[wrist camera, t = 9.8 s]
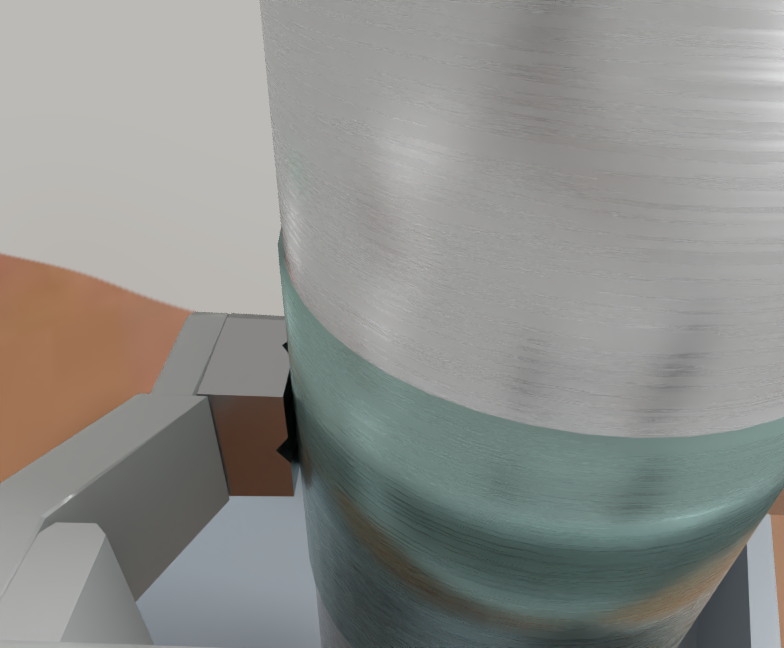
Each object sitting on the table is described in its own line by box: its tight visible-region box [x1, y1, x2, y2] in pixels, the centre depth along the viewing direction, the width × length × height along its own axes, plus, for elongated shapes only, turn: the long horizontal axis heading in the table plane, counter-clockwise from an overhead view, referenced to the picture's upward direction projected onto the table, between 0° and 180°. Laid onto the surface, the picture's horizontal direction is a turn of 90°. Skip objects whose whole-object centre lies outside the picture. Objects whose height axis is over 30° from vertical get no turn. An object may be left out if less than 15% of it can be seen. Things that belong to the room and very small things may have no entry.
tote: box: [136, 468, 781, 648], centre depth 15 cm, size 17×13×4 cm
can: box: [260, 0, 784, 648], centre depth 8 cm, size 6×6×12 cm
